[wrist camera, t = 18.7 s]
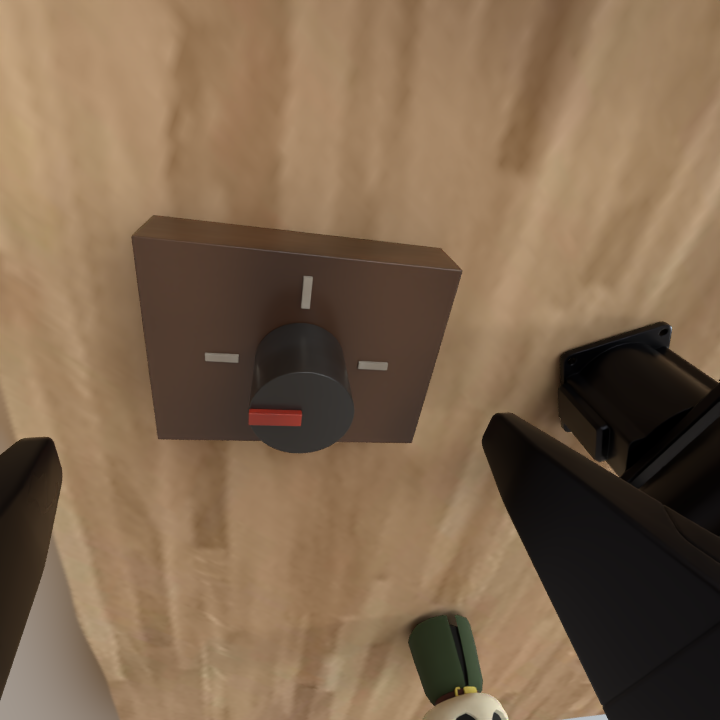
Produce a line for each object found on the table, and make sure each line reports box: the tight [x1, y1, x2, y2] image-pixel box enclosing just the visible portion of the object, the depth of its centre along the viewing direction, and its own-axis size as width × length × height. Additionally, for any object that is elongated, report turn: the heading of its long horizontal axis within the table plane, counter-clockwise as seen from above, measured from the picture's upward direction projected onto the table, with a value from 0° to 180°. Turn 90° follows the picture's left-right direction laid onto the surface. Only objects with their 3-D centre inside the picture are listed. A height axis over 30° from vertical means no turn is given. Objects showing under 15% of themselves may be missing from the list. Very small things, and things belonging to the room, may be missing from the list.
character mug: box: [408, 615, 509, 720], centre depth 36 cm, size 11×7×13 cm, turn 74°
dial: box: [248, 323, 354, 453], centre depth 17 cm, size 4×4×4 cm
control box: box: [132, 215, 462, 443], centre depth 20 cm, size 13×10×3 cm
